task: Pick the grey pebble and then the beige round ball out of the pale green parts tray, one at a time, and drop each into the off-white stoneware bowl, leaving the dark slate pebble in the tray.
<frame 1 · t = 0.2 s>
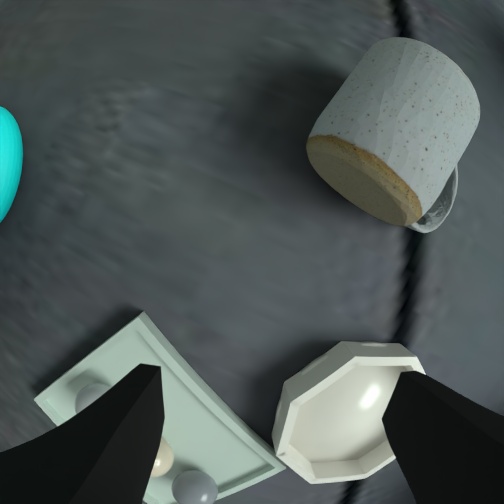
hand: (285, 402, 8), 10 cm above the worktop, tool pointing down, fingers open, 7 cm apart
pebble grey: (108, 395, 17), point 1 cm above the worktop, touching parts tray
ceramic mug: (383, 157, 18), on the worktop
pebble slate: (196, 475, 19), point 1 cm above the worktop, touching parts tray
parts tray: (155, 435, 19), on the worktop
beige round ball: (153, 440, 18), point 1 cm above the worktop, touching parts tray
stoneware bowl: (350, 410, 19), on the worktop
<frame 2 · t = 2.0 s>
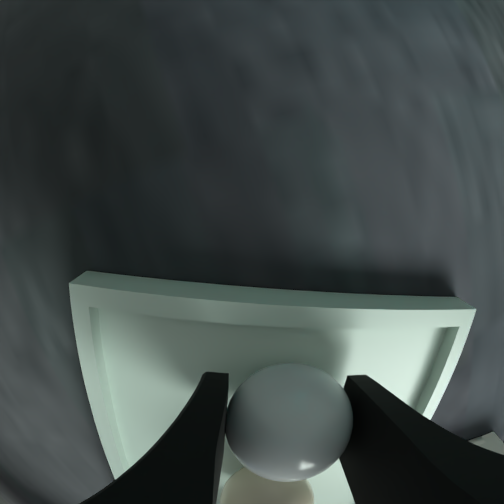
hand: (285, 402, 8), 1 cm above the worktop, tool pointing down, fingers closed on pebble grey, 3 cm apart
pebble grey: (281, 386, 9), point 1 cm above the worktop, touching gripper, parts tray
parts tray: (262, 458, 10), on the worktop
beige round ball: (263, 469, 10), point 1 cm above the worktop, touching parts tray
stoneware bowl: (431, 492, 13), on the worktop
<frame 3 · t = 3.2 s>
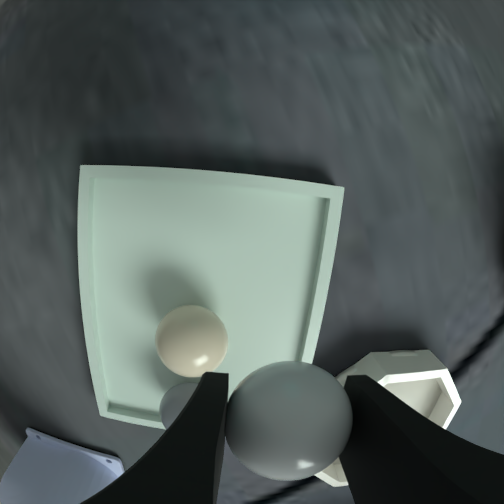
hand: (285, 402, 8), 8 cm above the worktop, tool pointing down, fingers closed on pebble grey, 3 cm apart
pebble grey: (281, 384, 9), point 7 cm above the worktop, touching gripper
pebble slate: (194, 393, 16), point 1 cm above the worktop, touching parts tray
parts tray: (197, 319, 16), on the worktop
beige round ball: (196, 324, 15), point 1 cm above the worktop, touching parts tray
stoneware bowl: (376, 415, 18), on the worktop
when the fingers open (4 cm above the worktop, at t = 4.7 s): pebble grey drops 3 cm, resting on stoneware bowl.
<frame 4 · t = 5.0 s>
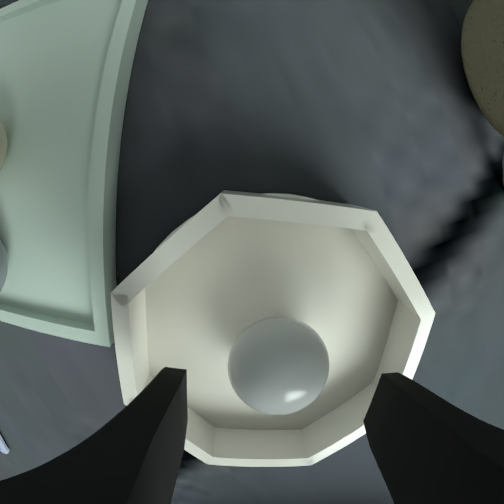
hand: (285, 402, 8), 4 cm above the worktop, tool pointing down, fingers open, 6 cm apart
pebble grey: (273, 341, 11), point 1 cm above the worktop, touching stoneware bowl
parts tray: (5, 151, 10), on the worktop
stoneware bowl: (271, 336, 12), on the worktop
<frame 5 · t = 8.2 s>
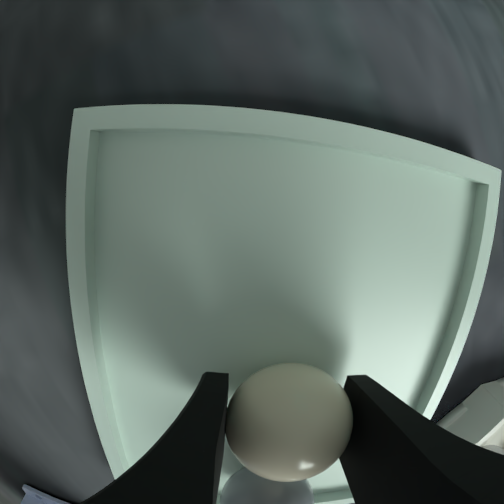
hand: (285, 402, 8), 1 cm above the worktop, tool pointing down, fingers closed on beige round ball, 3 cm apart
pebble slate: (263, 469, 10), point 1 cm above the worktop, touching parts tray
parts tray: (279, 375, 9), on the worktop
beige round ball: (281, 386, 9), point 1 cm above the worktop, touching gripper, parts tray
stoneware bowl: (464, 450, 12), on the worktop
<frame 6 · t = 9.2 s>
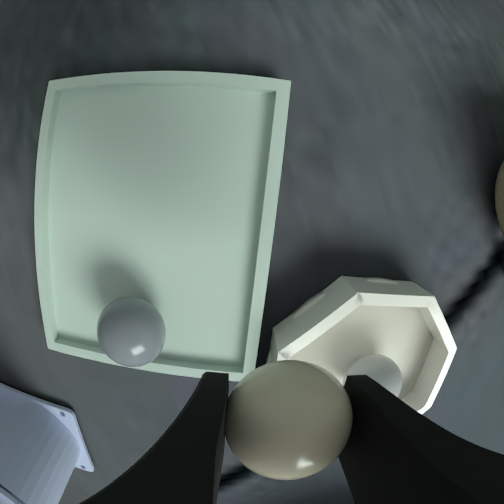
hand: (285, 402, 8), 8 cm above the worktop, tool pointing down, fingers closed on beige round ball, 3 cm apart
pebble grey: (359, 368, 17), point 1 cm above the worktop, tilted 6°, touching stoneware bowl
pebble slate: (140, 316, 15), point 1 cm above the worktop, touching parts tray
parts tray: (144, 227, 15), on the worktop
beige round ball: (280, 383, 9), point 7 cm above the worktop, touching gripper
stoneware bowl: (356, 364, 17), on the worktop
when the fingers open (4 cm above the worktop, at t = 10.5 s): beige round ball drops 1 cm and tips over, resting on stoneware bowl.
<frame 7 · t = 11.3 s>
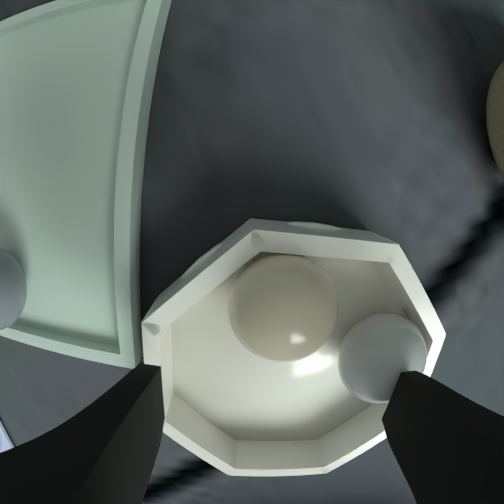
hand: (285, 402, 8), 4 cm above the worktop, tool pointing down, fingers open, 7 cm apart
pebble grey: (345, 382, 10), point 3 cm above the worktop, tilted 105°, touching stoneware bowl
pebble slate: (14, 276, 10), point 1 cm above the worktop, touching parts tray
parts tray: (18, 170, 10), on the worktop
beige round ball: (331, 321, 10), point 2 cm above the worktop, tilted 90°, touching stoneware bowl
stoneware bowl: (291, 355, 12), on the worktop
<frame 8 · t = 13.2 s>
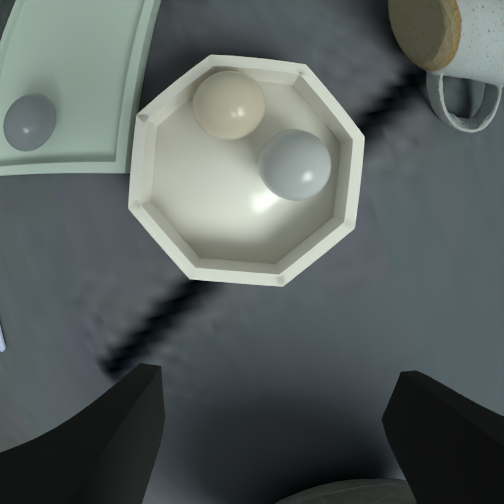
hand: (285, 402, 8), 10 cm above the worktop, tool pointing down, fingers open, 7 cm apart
pebble grey: (261, 176, 15), point 2 cm above the worktop, tilted 72°, touching stoneware bowl
ceramic mug: (441, 59, 15), on the worktop
pebble slate: (45, 125, 14), point 1 cm above the worktop, touching parts tray
parts tray: (62, 60, 14), on the worktop
bowl: (328, 496, 24), on the worktop
beige round ball: (263, 116, 13), point 2 cm above the worktop, tilted 88°, touching stoneware bowl
stoneware bowl: (245, 169, 16), on the worktop
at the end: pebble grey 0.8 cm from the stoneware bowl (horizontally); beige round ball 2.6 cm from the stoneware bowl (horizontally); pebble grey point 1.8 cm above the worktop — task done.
